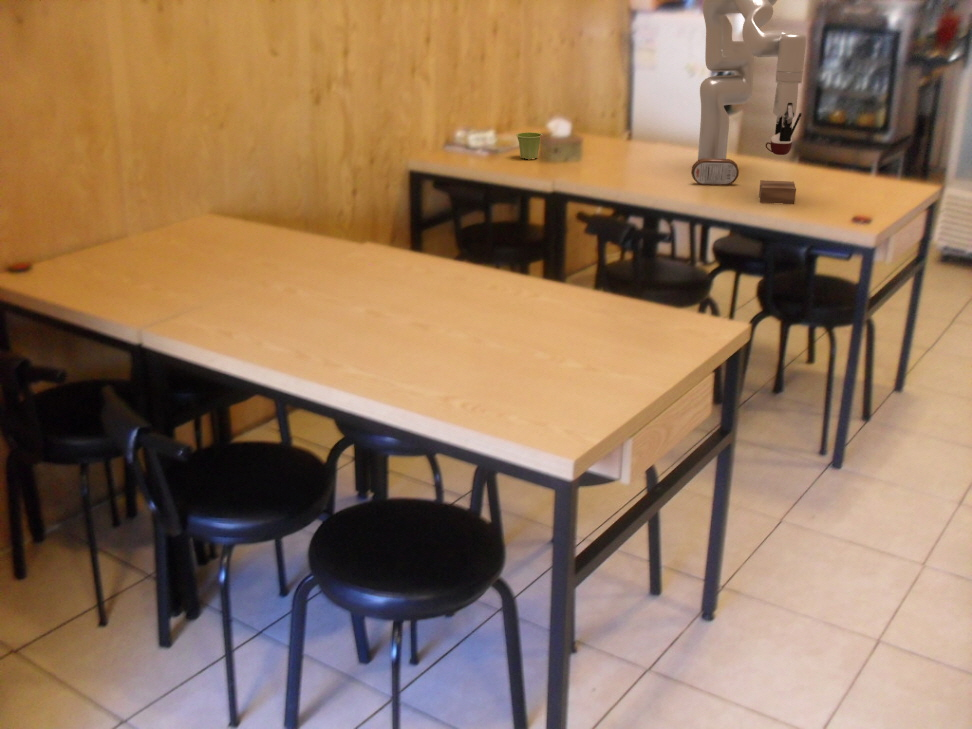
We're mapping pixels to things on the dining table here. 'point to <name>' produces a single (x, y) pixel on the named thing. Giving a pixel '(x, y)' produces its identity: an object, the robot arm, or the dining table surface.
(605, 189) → the dining table surface
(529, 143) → the plant pot
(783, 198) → the walnut block
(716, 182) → the tin
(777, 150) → the cocoa
